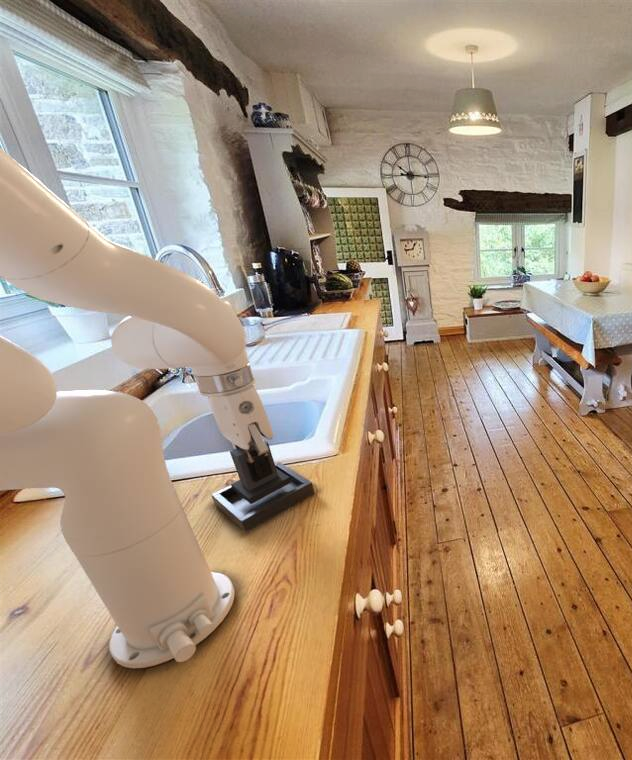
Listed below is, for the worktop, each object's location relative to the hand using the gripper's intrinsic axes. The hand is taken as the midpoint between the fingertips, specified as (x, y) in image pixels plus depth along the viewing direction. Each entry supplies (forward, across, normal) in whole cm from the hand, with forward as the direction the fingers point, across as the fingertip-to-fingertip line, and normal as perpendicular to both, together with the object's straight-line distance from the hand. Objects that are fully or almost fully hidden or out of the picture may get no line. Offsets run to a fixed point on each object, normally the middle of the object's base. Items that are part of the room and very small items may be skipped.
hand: (257, 473), depth 72 cm
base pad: (+5, 0, 0) cm, 5 cm away
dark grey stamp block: (+3, 0, 0) cm, 3 cm away
